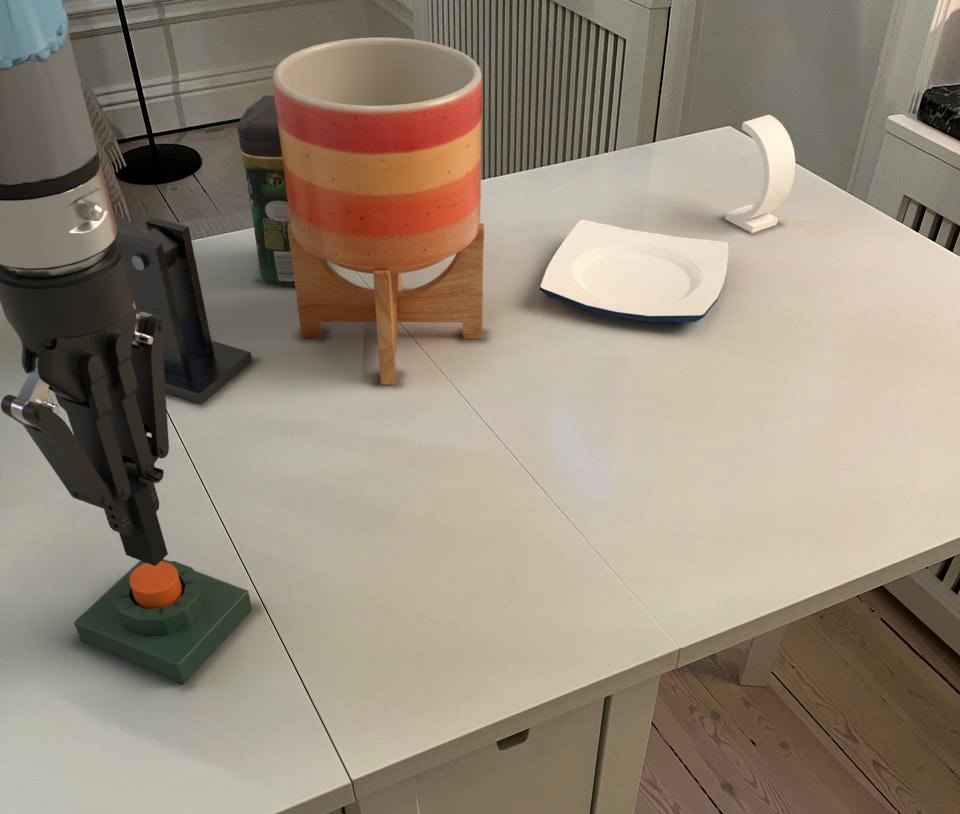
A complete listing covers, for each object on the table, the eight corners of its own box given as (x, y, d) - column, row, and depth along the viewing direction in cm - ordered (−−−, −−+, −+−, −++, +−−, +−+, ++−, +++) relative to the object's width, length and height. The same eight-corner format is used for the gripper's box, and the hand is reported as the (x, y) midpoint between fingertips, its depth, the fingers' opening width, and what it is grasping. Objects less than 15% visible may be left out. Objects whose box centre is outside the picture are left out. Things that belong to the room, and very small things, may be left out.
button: (124, 600, 78) (118, 583, 77) (154, 571, 80) (149, 555, 79) (162, 615, 77) (157, 598, 76) (191, 586, 79) (187, 569, 78)
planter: (291, 385, 105) (253, 108, 86) (310, 290, 119) (281, 33, 99) (483, 385, 106) (488, 110, 86) (480, 291, 119) (484, 35, 100)
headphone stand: (749, 210, 135) (769, 114, 126) (782, 227, 132) (805, 130, 123) (724, 218, 133) (742, 122, 125) (757, 236, 130) (778, 138, 121)
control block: (80, 641, 80) (66, 605, 77) (154, 572, 86) (143, 536, 83) (184, 684, 77) (173, 649, 74) (252, 610, 83) (245, 573, 80)
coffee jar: (270, 249, 126) (246, 87, 112) (333, 251, 126) (317, 89, 112) (253, 287, 119) (226, 120, 106) (320, 290, 119) (301, 122, 105)
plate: (528, 312, 116) (529, 290, 114) (573, 235, 129) (575, 215, 127) (705, 343, 112) (710, 321, 110) (733, 261, 125) (738, 240, 123)
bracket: (115, 377, 106) (75, 239, 95) (169, 337, 111) (138, 202, 101) (201, 404, 103) (170, 264, 92) (253, 361, 108) (229, 225, 97)
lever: (34, 204, 97) (34, 182, 95) (77, 181, 100) (78, 159, 98) (148, 282, 97) (151, 261, 95) (187, 255, 100) (190, 235, 98)
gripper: (22, 313, 53) (130, 626, 70) (177, 217, 61) (240, 519, 79) (-83, 282, 56) (46, 593, 73) (80, 193, 64) (162, 491, 81)
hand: (147, 554), depth 76 cm, fingers closed
